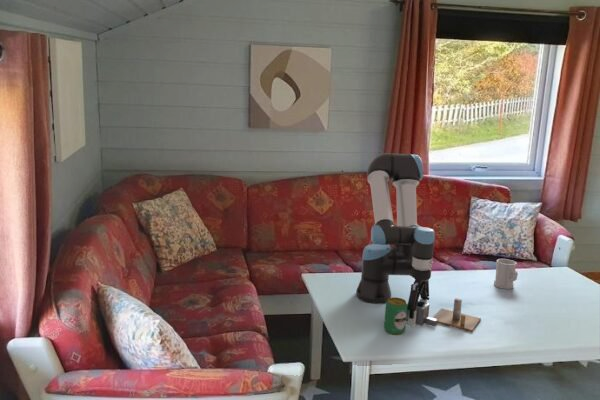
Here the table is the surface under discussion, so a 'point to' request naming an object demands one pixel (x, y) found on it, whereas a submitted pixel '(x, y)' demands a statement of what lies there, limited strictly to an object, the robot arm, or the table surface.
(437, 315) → the post base
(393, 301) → the beverage can
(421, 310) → the grey hollow square block
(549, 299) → the table surface
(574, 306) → the table surface
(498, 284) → the cup
